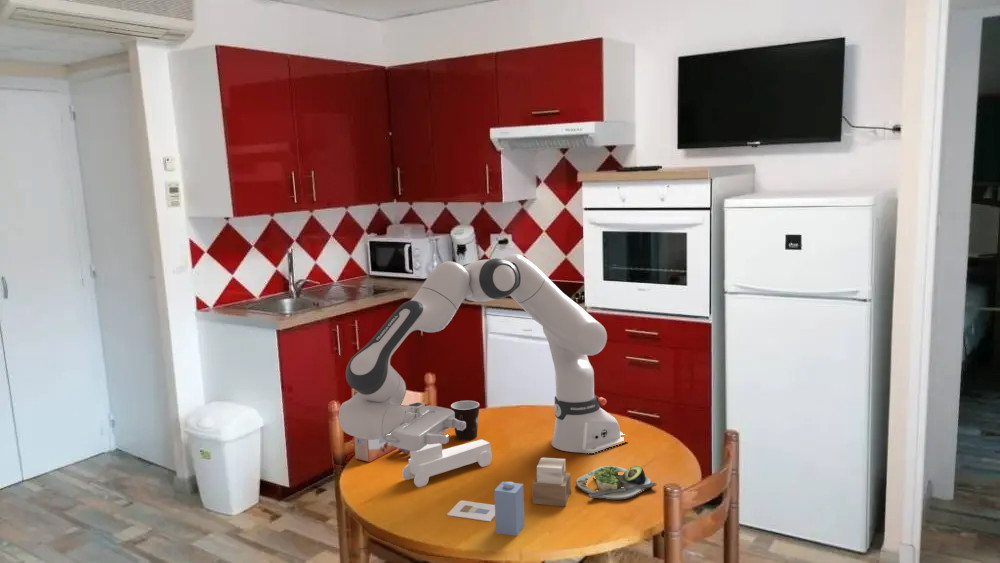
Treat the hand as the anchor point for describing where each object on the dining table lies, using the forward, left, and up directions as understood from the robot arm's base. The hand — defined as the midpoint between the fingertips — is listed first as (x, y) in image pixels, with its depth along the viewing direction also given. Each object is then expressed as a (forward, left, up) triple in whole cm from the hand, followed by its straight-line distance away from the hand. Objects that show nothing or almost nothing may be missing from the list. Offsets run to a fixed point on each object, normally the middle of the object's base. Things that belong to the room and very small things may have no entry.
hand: (456, 432), depth 170 cm
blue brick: (-8, +9, -21) cm, 25 cm away
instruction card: (-5, -3, -21) cm, 22 cm away
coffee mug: (-21, -50, -22) cm, 59 cm away
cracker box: (+5, -51, -22) cm, 56 cm away
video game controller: (-3, -46, -22) cm, 51 cm away
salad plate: (-42, +1, -22) cm, 47 cm away
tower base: (-24, -1, -21) cm, 33 cm away
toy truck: (-8, -29, -22) cm, 37 cm away
